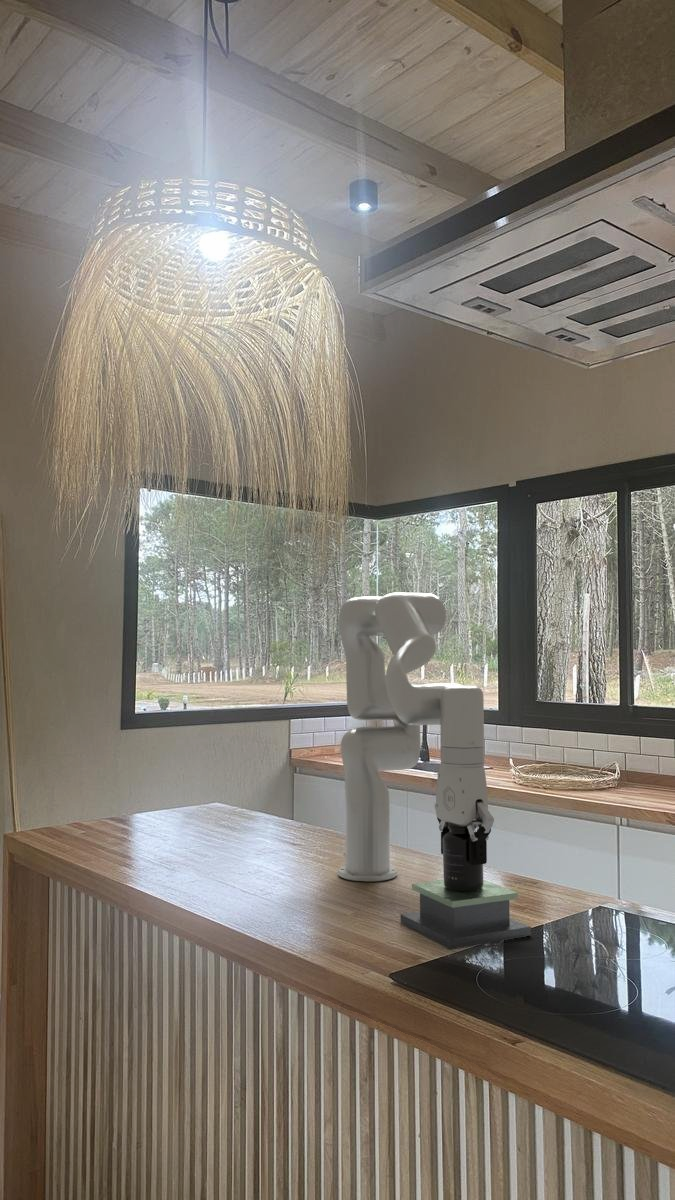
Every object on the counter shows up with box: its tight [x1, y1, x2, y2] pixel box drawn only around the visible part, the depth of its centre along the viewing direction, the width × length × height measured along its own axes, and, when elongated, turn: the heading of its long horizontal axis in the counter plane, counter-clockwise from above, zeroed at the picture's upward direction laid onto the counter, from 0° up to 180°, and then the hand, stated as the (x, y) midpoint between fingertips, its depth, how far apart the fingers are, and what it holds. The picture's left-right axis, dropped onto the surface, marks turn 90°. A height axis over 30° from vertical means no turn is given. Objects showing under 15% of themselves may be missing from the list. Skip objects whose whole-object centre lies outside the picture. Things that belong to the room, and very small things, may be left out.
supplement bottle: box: [442, 820, 484, 892], centre depth 156 cm, size 7×7×12 cm
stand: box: [400, 879, 532, 950], centre depth 155 cm, size 16×16×7 cm
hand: (463, 858), depth 156 cm, fingers open, 8 cm apart
